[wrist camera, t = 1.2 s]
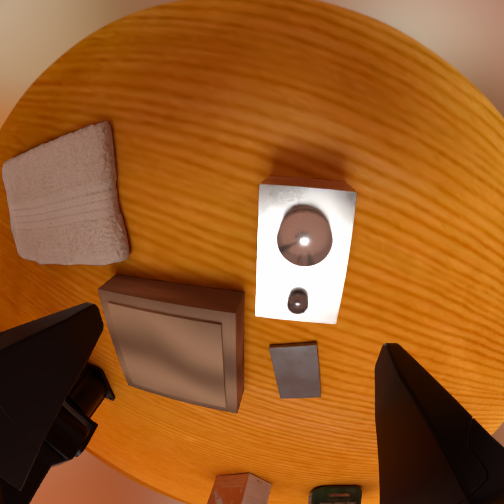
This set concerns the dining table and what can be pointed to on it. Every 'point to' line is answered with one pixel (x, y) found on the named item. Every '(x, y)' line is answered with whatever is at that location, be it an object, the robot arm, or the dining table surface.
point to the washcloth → (67, 200)
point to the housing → (303, 247)
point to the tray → (178, 339)
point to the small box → (239, 490)
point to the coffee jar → (336, 495)
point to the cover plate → (296, 369)
